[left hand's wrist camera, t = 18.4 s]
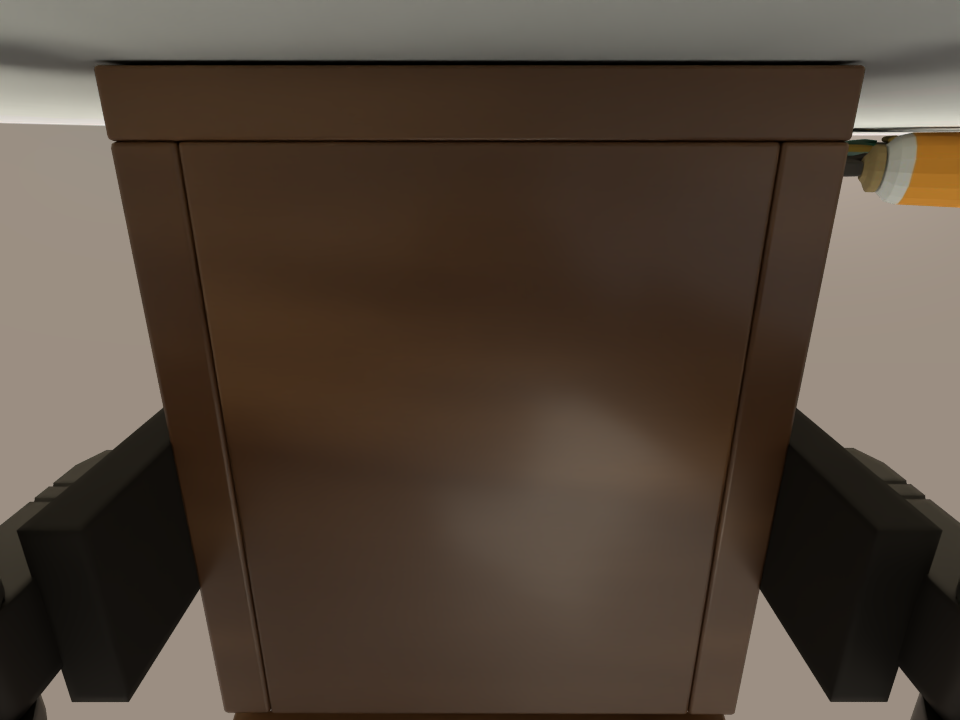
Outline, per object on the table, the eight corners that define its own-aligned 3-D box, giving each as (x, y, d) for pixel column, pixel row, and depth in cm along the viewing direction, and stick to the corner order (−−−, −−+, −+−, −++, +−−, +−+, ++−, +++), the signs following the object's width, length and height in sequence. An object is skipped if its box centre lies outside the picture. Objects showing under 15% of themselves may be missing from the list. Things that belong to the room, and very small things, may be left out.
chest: (597, 121, 24) (581, 369, 27) (364, 121, 24) (380, 369, 27) (868, 64, 7) (735, 716, 11) (90, 64, 7) (223, 715, 11)
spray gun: (1053, 123, 40) (814, 120, 50) (1049, 137, 29) (741, 130, 38) (1030, 187, 42) (803, 173, 51) (1018, 224, 31) (730, 197, 40)
